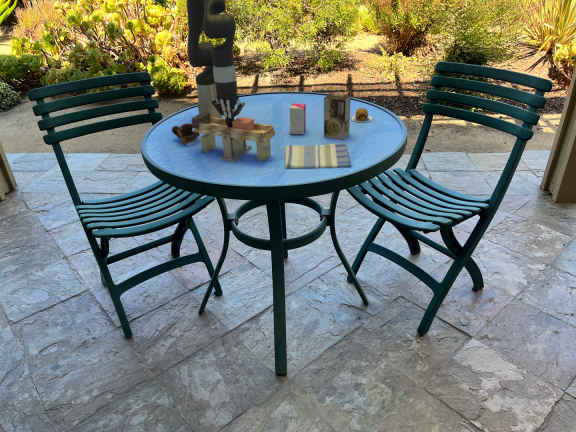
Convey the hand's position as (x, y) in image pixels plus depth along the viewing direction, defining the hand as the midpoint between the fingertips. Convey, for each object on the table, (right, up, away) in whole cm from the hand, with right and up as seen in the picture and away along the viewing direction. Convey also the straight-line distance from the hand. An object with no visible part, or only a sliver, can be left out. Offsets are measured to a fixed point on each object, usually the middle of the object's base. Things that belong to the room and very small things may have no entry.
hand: (230, 126), depth 153 cm
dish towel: (+31, -12, 0) cm, 34 cm away
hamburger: (+53, +9, +31) cm, 63 cm away
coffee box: (+40, 0, +17) cm, 44 cm away
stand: (+1, -9, +6) cm, 11 cm away
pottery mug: (-20, -2, +18) cm, 27 cm away
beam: (+1, -1, +1) cm, 2 cm away
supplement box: (+25, +2, +21) cm, 33 cm away
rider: (+5, -2, -1) cm, 5 cm away
